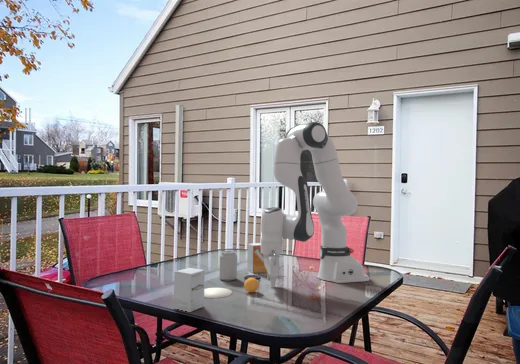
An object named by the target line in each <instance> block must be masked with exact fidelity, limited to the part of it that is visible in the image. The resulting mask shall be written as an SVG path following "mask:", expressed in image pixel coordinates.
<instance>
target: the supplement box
mask: <svg viewBox="0 0 520 364" xmlns="http://www.w3.org/2000/svg"><path fill="white" fill-rule="evenodd" d="M205 273H206V272H205V270H204V269H201V268H193V267H187V268H184V269H179V270H175V271H174V278H173V279H174V280H173V281H174V282H173V283H174V285H173V286H174V287H173V293H174V294H173V309H174V308H175V310H177V309H179V311H181V310H183V311H182V312H185V311H187V312H186V313H189V312H190V313H191V312H193V311H196V310H198V309H200V308H201V309H202V308H204V307H205V297H204V289H205Z"/></svg>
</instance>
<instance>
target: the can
mask: <svg viewBox="0 0 520 364" xmlns="http://www.w3.org/2000/svg"><path fill="white" fill-rule="evenodd" d="M237 269H238V255H237V254H236V251H234V250H224V251H221V252H220V254H219V278H220V279H221V281H224V282H225V281H226V282H227V281H229V282H230V281H234V280H235V279H236V278H237V277H238V275H237V274H238V270H237Z"/></svg>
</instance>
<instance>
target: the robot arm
mask: <svg viewBox="0 0 520 364" xmlns="http://www.w3.org/2000/svg"><path fill="white" fill-rule="evenodd" d="M275 146H276V147H275V150H274V151H275V152H274V156H273V157H274V159H273V174H274V178H275V180H276V181H277V182H278V183H279V184H280V185H282V186H284V187H286V188H288V189H290V190H291V191H292V192H293V193H294V194H295V197H296V204H297V215H290V214H289V215H288V214H286V213H284V212H283V210H282V208H280V207H267V208H265V209H264V210H263V211H262V215H261V223H260V231H261V238H260V243H261V253H262V254H263V257H264V266H265V268H266V270H267V272H266V275H267V281H268V282H269V281H270V282H269V283H270V284H269V285H270V287H271V288H275V287H276V281H277V278H279V277H280V255H282V254H283V253H284V251H283V249H284V239H287V240H295V241H298V242H303V243H305V242H307V241H309V240H310V239H311V238H312V237H313V236H314V234H315V224H314V221H313V216H312V215H313V214H312V208H311V201H310V190H309V186H308V180H307V179H306V177H304V176H303V174H302V171H301V155H302V153H303V151H306V150H308V151H309V153H310V154H311V158H312V163H313V168H314V174H315V178H316V181H317V182H318V183H319V184H320V185H321V187H322V191H319V192H317V193H316V194H315V195H314V197H313V199H312V205H313V207H314V209H315V210H316V212H317V216H318V219H319V223H320V230H321V235H320V236H321V245H320V248H319V257H320V261H319V264H320V265H319V269H318V273H317V278H318V279H320V280H324V281H326V282H327V281H328V282H333V283H336V284H337V283H338V284H345V283H346V284H347V283H359V282H369V281H370V277H369V276H368V275H367V274H366V273H365V270H364V266H363V264H362V263H361V262H360V261H358V260H357V259H356V258H355V257H354V256H353V255H351V254H354V248H351V247H348V246H347V239H348V238H347V237H348V235H347V228H346V226H345V224H344V222H343V220H342V217H347V216H350V215H353V214H354V213H355V212H356V211H357V210H358V205H359V201H358V198H357V197H356V196H355V195H354V194H353V193H352V192H351V190H350V189H349V187H348V186H347V184H346V181H345V180H344V177H343V174H342V171H341V166H340V162H339V156H338V153H337V149H336V146H335V143H334V141H333V139H332V138H331V137H330V136H329V135H328V133H327V130H326V128H325V127H324V125H323V124H322V123H320V122H317V121H310V122H305V123H301V124H299V125H297V126H294V127H291V128H289V129H288V130H287V131H286V132H285V135H284V138H281V139H279V140H278V141H277V144H276V145H275Z"/></svg>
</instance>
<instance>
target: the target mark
mask: <svg viewBox="0 0 520 364" xmlns="http://www.w3.org/2000/svg"><path fill="white" fill-rule="evenodd" d="M232 294H233V292H232V290H231V289H229V288H225V287H208V288H204V298H206V299H207V298H208V299H220V298H226V297H228V296H231V295H232Z"/></svg>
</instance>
